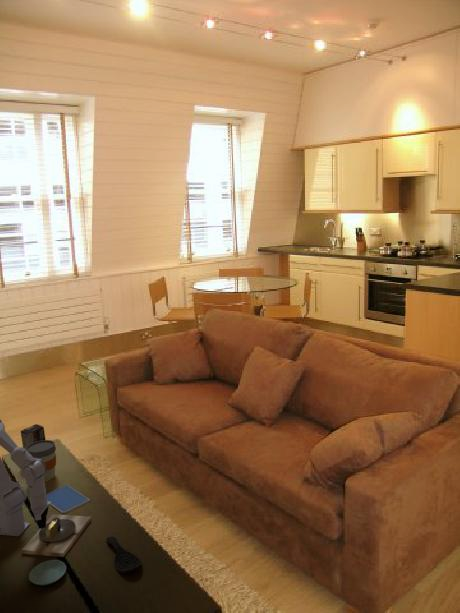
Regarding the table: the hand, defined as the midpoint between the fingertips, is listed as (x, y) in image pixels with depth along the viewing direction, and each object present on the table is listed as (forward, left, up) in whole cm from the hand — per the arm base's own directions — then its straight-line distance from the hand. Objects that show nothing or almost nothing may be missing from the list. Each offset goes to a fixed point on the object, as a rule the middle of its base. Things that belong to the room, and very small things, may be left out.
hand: (42, 527), depth 200 cm
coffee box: (-38, +58, -5) cm, 70 cm away
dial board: (+4, +2, -5) cm, 7 cm away
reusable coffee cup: (-25, +43, -5) cm, 50 cm away
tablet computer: (-6, +26, -6) cm, 27 cm away
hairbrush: (+33, -6, -6) cm, 34 cm away
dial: (+4, +2, -3) cm, 6 cm away
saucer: (+12, -19, -5) cm, 23 cm away
